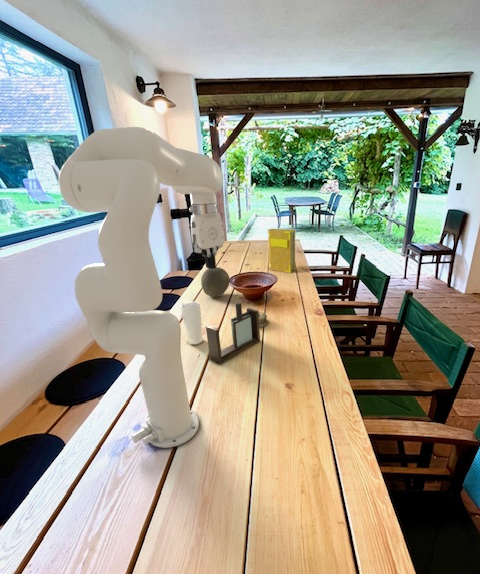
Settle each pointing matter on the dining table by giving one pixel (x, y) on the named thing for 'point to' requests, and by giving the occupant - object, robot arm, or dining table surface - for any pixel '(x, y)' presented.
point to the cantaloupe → (215, 281)
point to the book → (281, 250)
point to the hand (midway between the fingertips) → (211, 267)
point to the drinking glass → (192, 321)
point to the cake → (262, 319)
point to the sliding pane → (241, 327)
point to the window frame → (231, 351)
